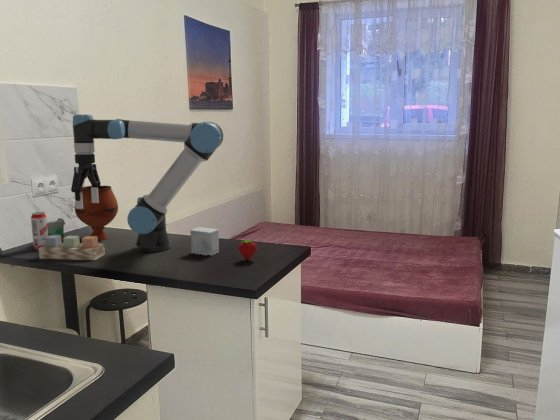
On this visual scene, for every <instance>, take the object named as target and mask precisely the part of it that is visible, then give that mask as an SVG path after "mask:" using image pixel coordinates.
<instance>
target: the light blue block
mask: <svg viewBox="0 0 560 420" xmlns="http://www.w3.org/2000/svg"><path fill="white" fill-rule="evenodd" d="M62 243H63V242H62V241H61V235H50V236H48V237H45V247H55V248H56V247H58V246H60V245H62Z"/></svg>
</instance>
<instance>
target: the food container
mask: <svg viewBox="0 0 560 420" xmlns="http://www.w3.org/2000/svg"><path fill="white" fill-rule="evenodd" d="M65 225H66V222H65V220H64V218H60V217H59V218H57V220H55V221H53V220H52V221H50V222H47V227H48V236H50V235H61V241H62V243H63V238H65V232H64V231H65V230H64V229H65Z"/></svg>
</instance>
